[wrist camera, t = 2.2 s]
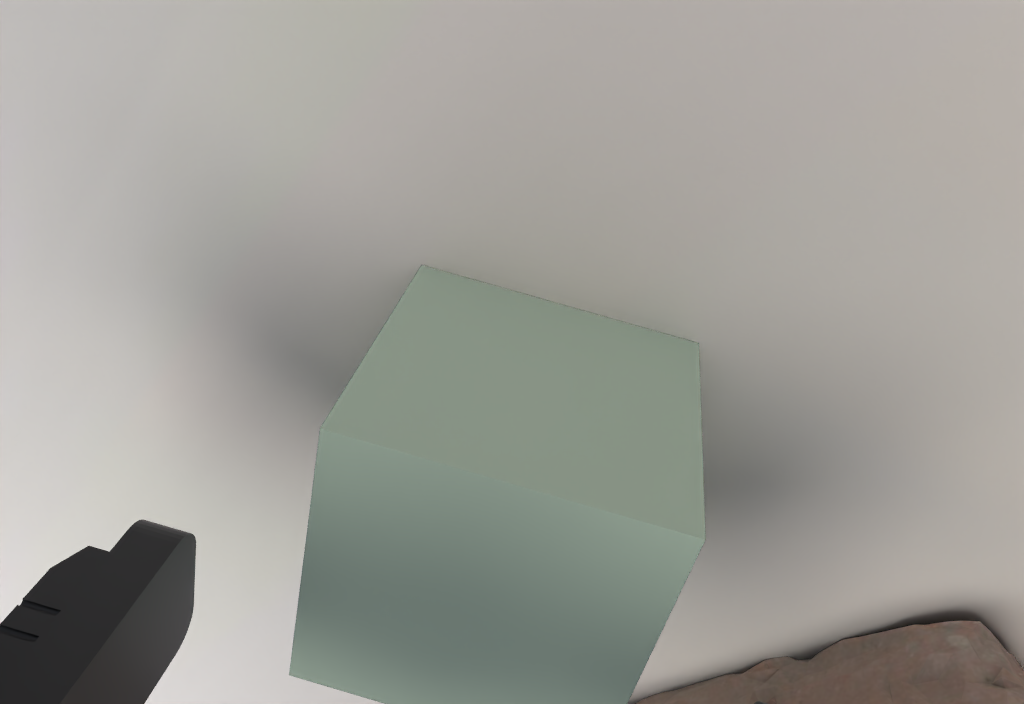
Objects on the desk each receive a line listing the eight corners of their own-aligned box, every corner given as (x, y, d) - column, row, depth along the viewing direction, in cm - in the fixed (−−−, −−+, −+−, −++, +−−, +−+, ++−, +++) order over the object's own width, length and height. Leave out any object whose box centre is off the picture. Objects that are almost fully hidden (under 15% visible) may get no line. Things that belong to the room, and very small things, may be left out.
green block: (422, 262, 15) (320, 428, 11) (698, 341, 15) (705, 539, 11) (384, 475, 18) (288, 675, 13) (617, 543, 17) (596, 766, 13)
